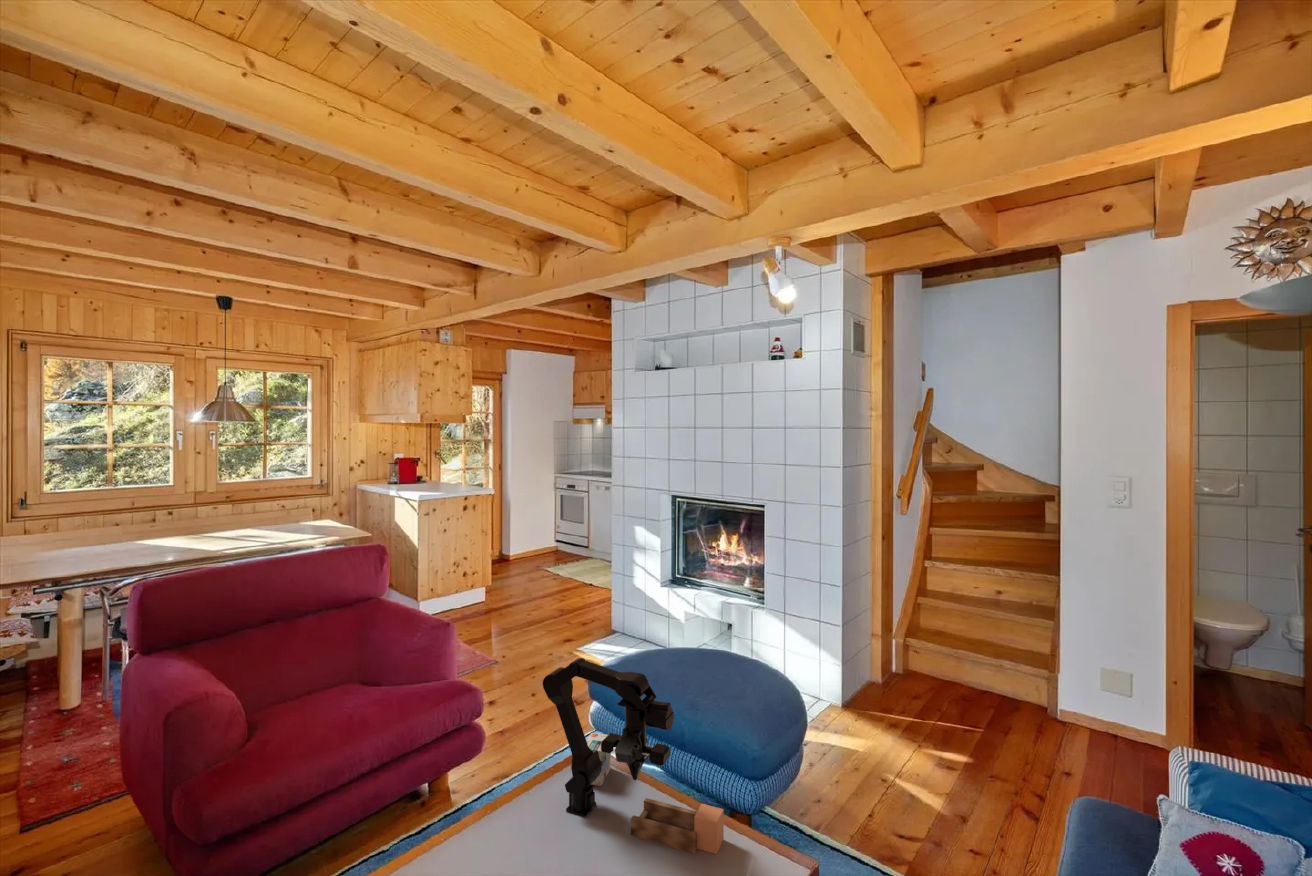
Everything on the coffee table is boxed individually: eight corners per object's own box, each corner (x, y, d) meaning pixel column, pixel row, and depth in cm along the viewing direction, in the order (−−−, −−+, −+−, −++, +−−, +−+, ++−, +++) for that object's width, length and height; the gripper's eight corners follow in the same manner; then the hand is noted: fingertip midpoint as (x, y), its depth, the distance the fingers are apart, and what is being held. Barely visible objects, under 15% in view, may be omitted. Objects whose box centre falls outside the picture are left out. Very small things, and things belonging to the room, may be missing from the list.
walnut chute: (630, 835, 159) (630, 818, 159) (645, 814, 168) (645, 798, 168) (694, 854, 152) (694, 836, 152) (707, 830, 161) (707, 814, 161)
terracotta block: (694, 847, 154) (694, 816, 154) (701, 833, 160) (701, 803, 160) (716, 854, 152) (716, 822, 152) (723, 839, 157) (723, 809, 157)
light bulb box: (601, 787, 181) (601, 751, 181) (580, 784, 182) (580, 749, 182) (611, 767, 192) (611, 734, 192) (591, 765, 193) (591, 731, 193)
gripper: (591, 729, 160) (591, 787, 160) (655, 743, 153) (655, 804, 153) (610, 711, 170) (610, 766, 171) (671, 724, 163) (671, 781, 163)
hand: (635, 779), depth 164 cm, fingers closed
